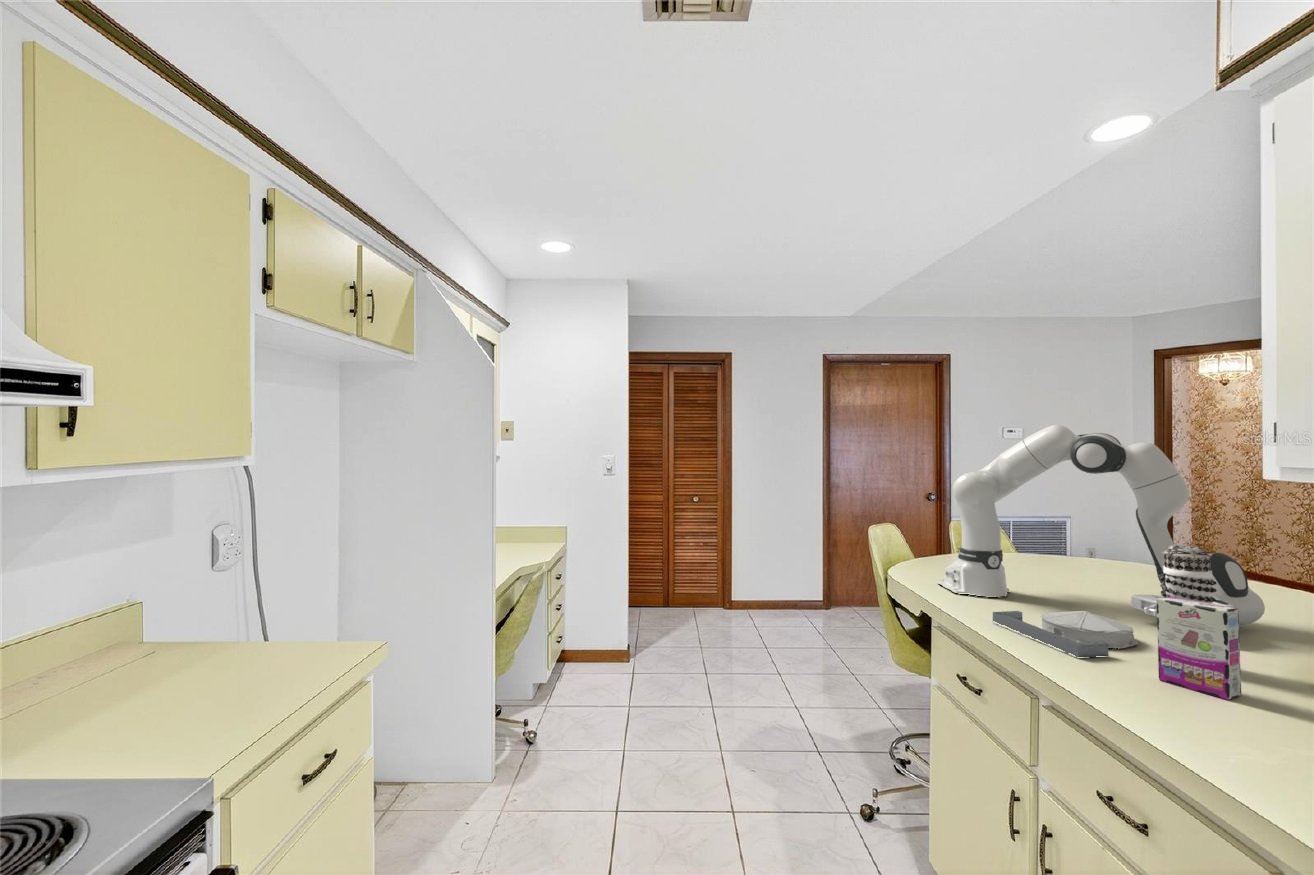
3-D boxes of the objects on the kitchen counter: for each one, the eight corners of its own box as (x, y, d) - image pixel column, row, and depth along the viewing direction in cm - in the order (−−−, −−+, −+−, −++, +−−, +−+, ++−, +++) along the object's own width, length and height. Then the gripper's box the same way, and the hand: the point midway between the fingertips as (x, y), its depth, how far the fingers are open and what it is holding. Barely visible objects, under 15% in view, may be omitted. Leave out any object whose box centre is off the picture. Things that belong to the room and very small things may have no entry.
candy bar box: (1242, 696, 111) (1240, 608, 111) (1229, 701, 109) (1227, 611, 109) (1170, 676, 121) (1168, 595, 121) (1157, 680, 119) (1155, 597, 119)
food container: (1018, 632, 152) (1018, 605, 152) (1073, 622, 159) (1072, 597, 159) (1100, 658, 134) (1099, 628, 134) (1157, 646, 140) (1157, 617, 140)
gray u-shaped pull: (992, 623, 157) (992, 612, 158) (1018, 622, 159) (1018, 610, 159) (1078, 659, 131) (1078, 645, 131) (1108, 657, 132) (1108, 643, 132)
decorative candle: (1156, 663, 128) (1154, 547, 128) (1166, 653, 134) (1163, 542, 134) (1214, 675, 121) (1211, 552, 121) (1221, 665, 127) (1218, 547, 127)
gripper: (1157, 587, 161) (1112, 589, 159) (1241, 607, 140) (1190, 609, 139) (1158, 611, 161) (1112, 613, 159) (1242, 634, 140) (1191, 637, 138)
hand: (1149, 612), depth 148 cm, fingers closed
